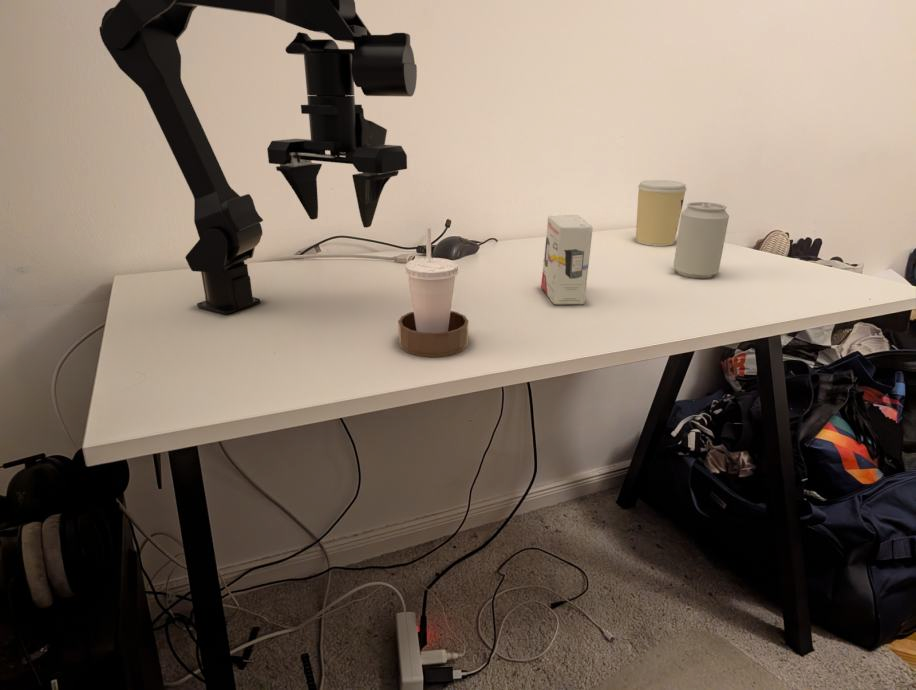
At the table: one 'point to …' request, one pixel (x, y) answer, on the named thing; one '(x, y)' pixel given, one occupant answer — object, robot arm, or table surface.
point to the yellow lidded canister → (659, 211)
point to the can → (701, 239)
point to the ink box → (566, 259)
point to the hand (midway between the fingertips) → (340, 222)
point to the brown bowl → (433, 337)
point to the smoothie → (431, 290)
